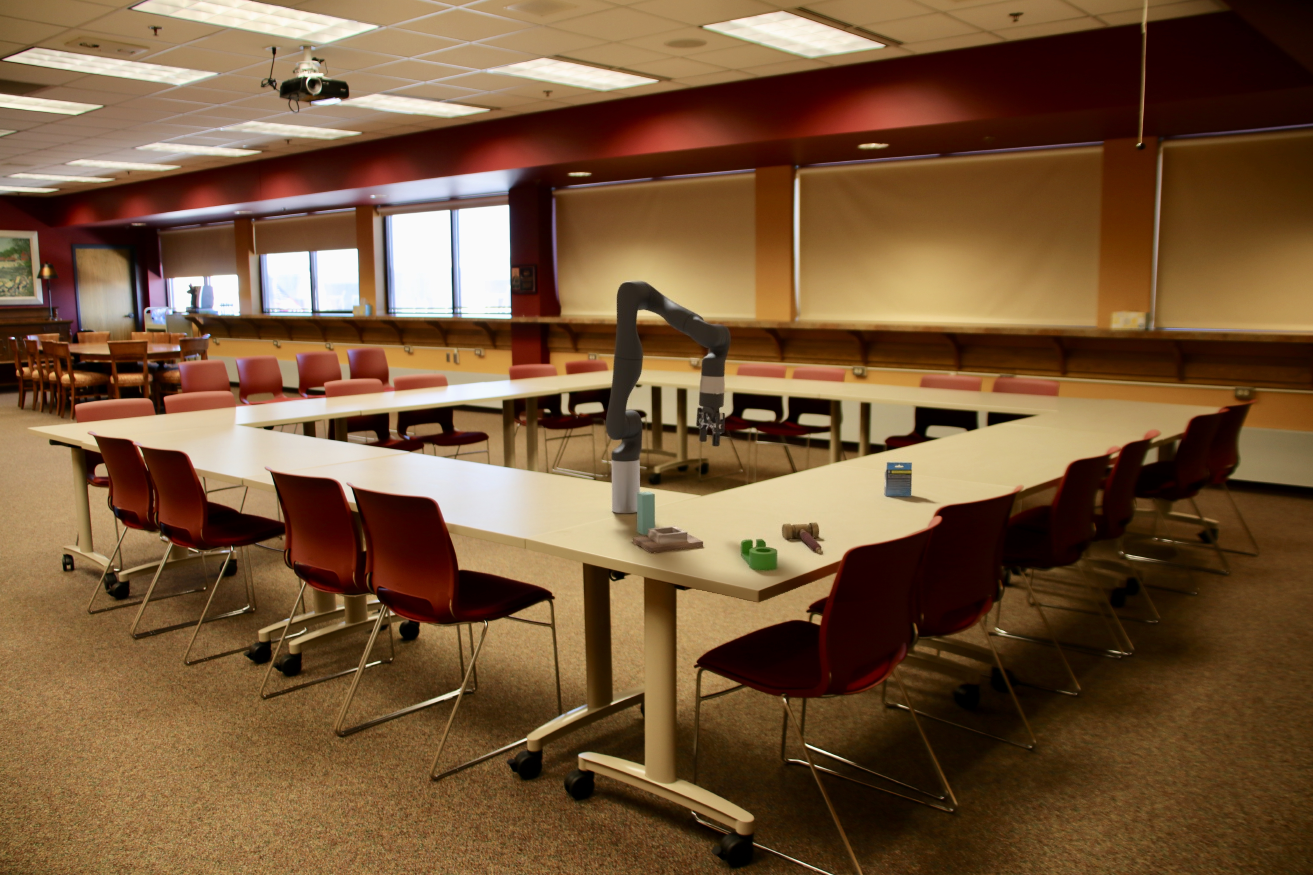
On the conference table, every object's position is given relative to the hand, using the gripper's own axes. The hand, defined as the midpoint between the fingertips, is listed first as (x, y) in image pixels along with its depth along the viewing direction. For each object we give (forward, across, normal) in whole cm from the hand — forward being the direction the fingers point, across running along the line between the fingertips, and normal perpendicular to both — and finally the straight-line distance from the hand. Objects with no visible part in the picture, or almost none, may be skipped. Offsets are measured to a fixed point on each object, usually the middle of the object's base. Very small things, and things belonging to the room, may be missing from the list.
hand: (709, 443), depth 274 cm
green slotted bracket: (+25, +43, -6) cm, 50 cm away
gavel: (+24, +33, +16) cm, 44 cm away
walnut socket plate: (+26, +16, -20) cm, 36 cm away
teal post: (+26, +1, -20) cm, 33 cm away
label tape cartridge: (+23, -10, +82) cm, 85 cm away
